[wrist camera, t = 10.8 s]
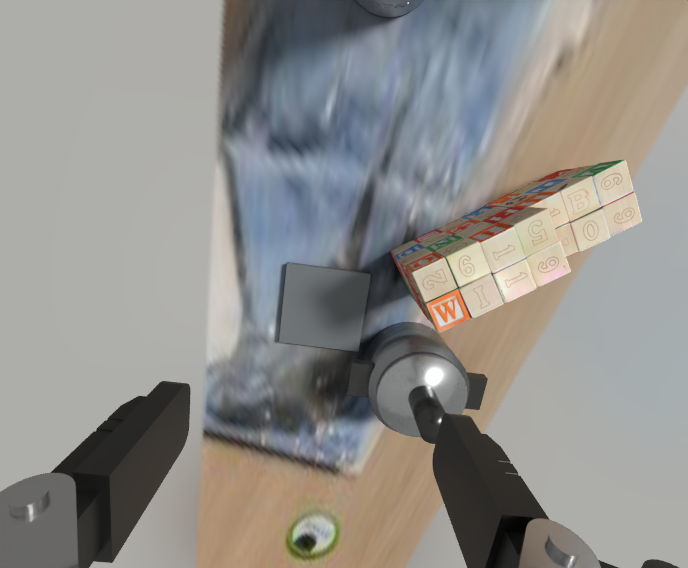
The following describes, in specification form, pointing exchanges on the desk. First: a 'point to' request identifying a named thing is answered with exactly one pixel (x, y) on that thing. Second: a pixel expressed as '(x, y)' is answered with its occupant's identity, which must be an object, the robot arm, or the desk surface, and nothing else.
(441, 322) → the stack of blocks
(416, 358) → the lid
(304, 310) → the plate
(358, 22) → the desk surface
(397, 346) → the pot
